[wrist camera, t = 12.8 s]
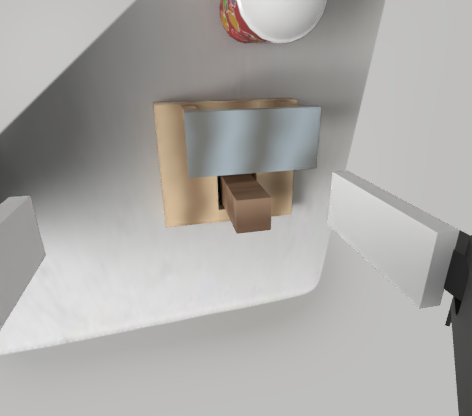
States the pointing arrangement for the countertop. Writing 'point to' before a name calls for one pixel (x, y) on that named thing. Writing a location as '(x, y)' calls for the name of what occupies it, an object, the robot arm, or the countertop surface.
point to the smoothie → (270, 19)
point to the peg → (245, 203)
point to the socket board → (206, 188)
